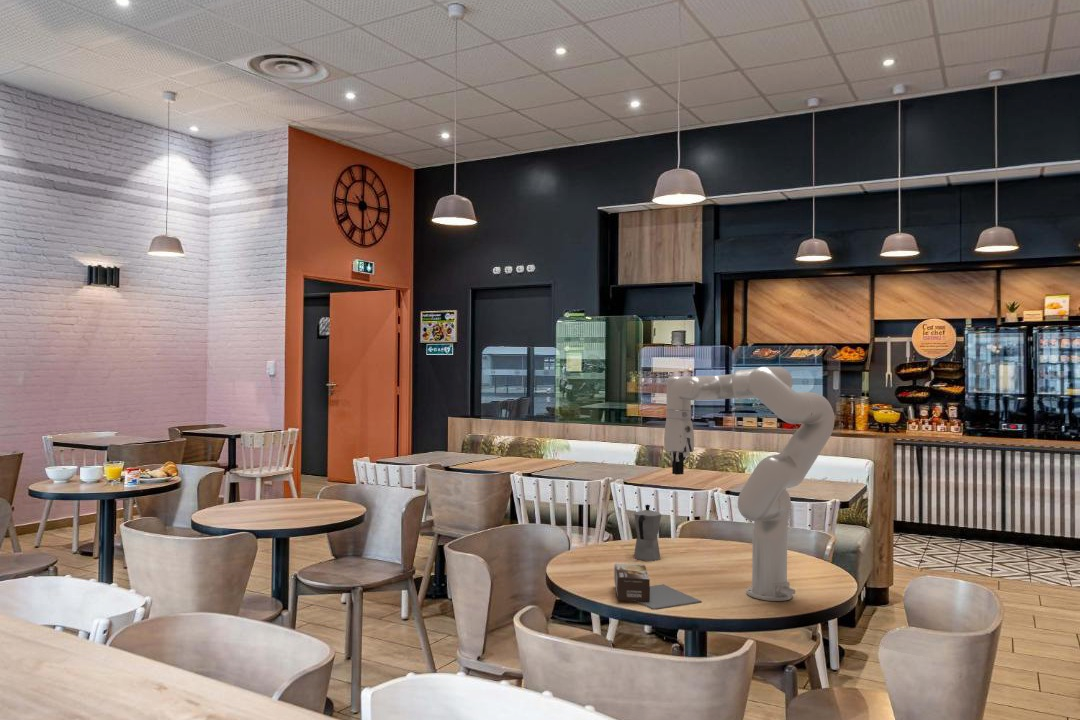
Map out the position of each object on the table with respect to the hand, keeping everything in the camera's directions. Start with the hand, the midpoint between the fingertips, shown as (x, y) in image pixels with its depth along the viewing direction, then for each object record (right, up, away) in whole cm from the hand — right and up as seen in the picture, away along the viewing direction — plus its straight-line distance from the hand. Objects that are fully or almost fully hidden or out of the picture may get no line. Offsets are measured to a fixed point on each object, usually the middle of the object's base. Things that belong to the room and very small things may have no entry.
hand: (677, 474), depth 243 cm
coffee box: (-17, -27, -15) cm, 35 cm away
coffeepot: (-7, -32, +18) cm, 37 cm away
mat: (-10, -31, -26) cm, 41 cm away
